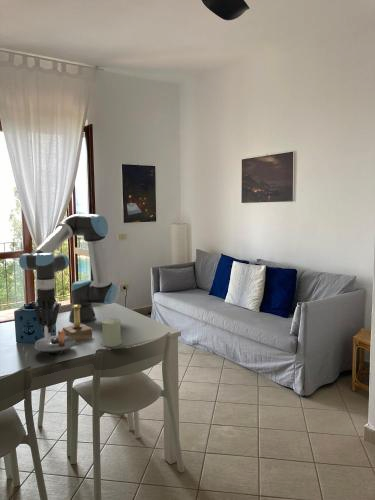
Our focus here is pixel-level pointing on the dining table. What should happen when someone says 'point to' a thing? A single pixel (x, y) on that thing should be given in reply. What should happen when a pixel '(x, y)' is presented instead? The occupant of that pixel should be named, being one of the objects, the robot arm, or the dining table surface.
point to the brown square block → (78, 332)
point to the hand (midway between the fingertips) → (47, 339)
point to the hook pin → (76, 316)
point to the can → (111, 332)
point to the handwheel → (55, 343)
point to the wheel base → (55, 352)
